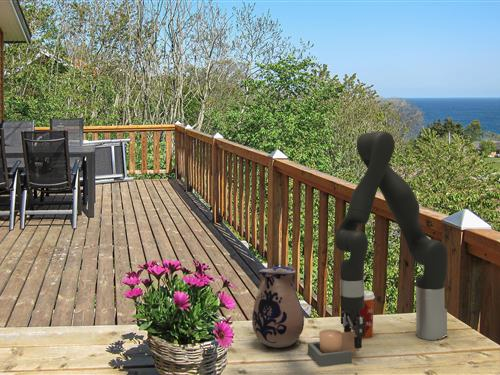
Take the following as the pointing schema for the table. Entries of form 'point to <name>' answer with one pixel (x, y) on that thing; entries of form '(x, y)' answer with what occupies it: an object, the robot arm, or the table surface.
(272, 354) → the table surface
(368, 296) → the coffee cup
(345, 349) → the peach mallet
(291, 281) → the ceramic pitcher
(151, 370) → the table surface
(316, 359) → the charcoal holder
